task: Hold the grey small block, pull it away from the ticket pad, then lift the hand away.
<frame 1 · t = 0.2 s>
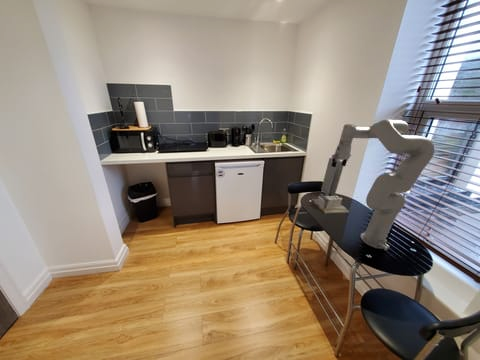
hand: (338, 166, 136), 30 cm above the table, fingers open, 9 cm apart
ticket pad: (325, 200, 139), on the ticket board, point 5 cm above the table
brochure: (327, 193, 162), on the table
ticket board: (329, 206, 142), on the table
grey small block: (334, 201, 141), point 4 cm above the table, slide at 0.0 cm
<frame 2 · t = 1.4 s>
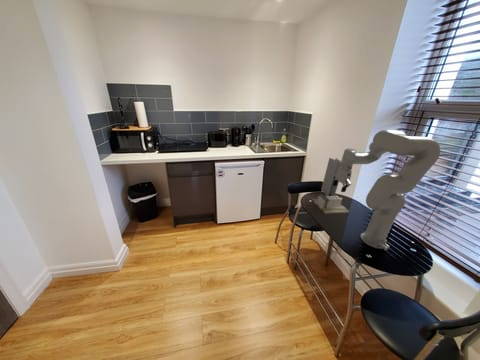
hand: (338, 188, 137), 15 cm above the table, fingers open, 9 cm apart
nothing on the table moved.
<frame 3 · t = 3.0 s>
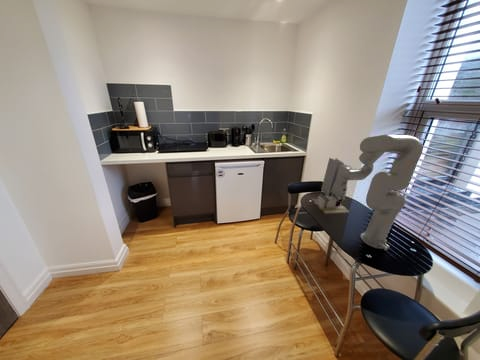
hand: (334, 203, 141), 2 cm above the table, fingers closed on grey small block, 6 cm apart
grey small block: (334, 201, 141), point 4 cm above the table, slide at 0.0 cm, touching gripper
everything else where it was.
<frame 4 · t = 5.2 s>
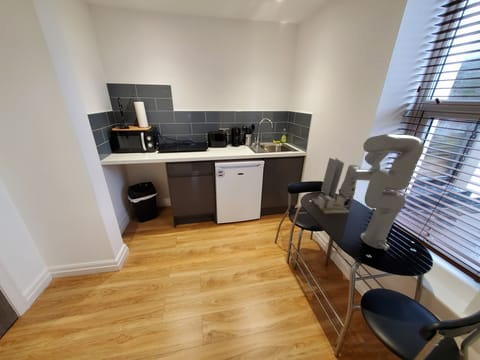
hand: (342, 203, 143), 2 cm above the table, fingers closed on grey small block, 6 cm apart
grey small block: (343, 200, 142), point 4 cm above the table, slide at 6.9 cm, touching gripper
everything else where it was.
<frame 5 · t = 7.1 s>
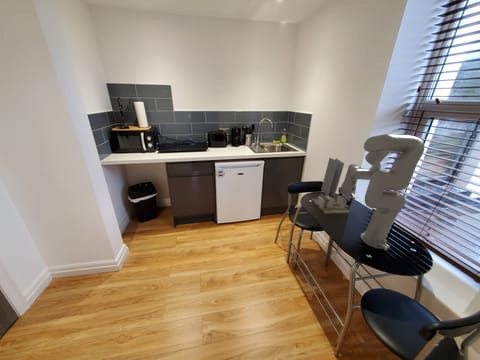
hand: (343, 202, 142), 4 cm above the table, fingers open, 9 cm apart
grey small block: (343, 200, 142), point 4 cm above the table, slide at 7.0 cm
everything else where it was.
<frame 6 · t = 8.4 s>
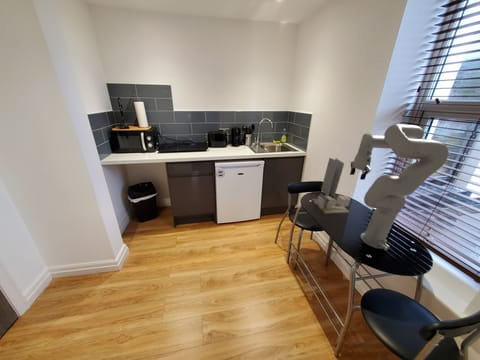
hand: (356, 176, 130), 26 cm above the table, fingers open, 9 cm apart
nothing on the table moved.
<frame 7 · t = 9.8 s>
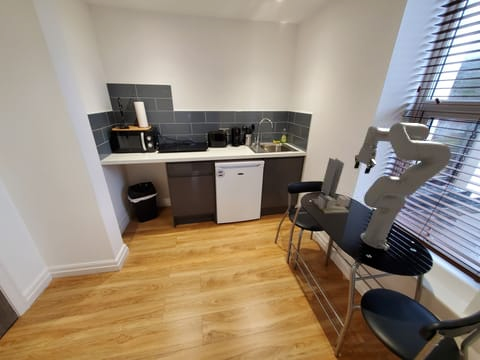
hand: (361, 170, 128), 30 cm above the table, fingers open, 9 cm apart
nothing on the table moved.
at the end: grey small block slide at 7.0 cm; the gripper is holding nothing; brochure moved 0.2 cm from its start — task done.
